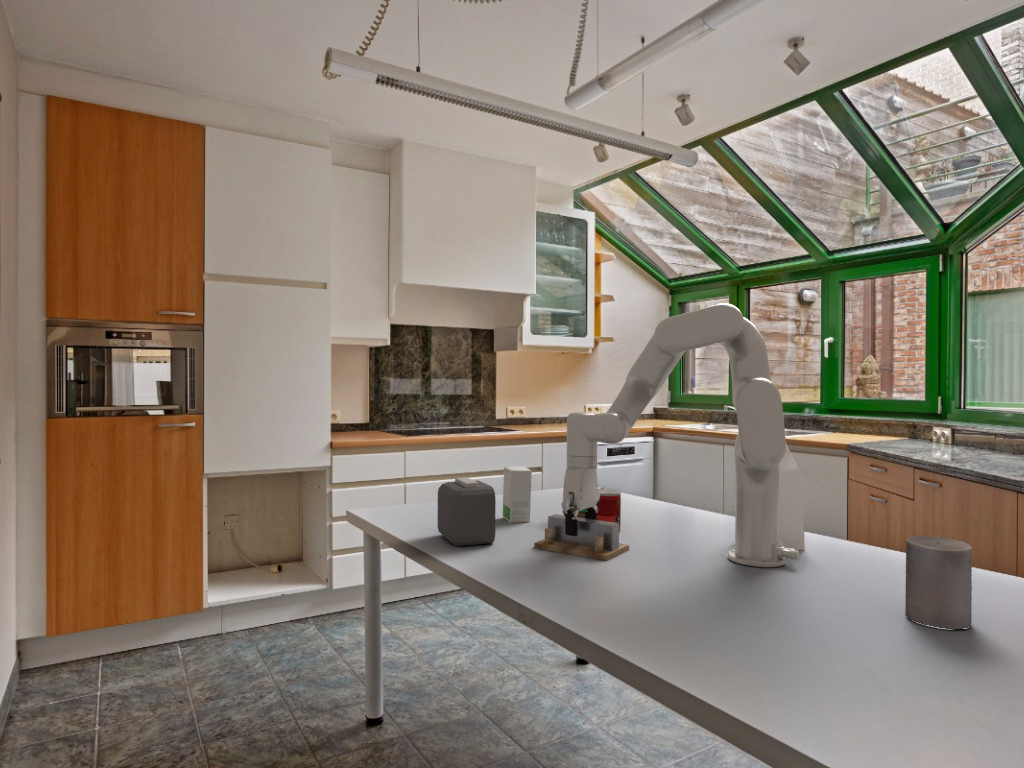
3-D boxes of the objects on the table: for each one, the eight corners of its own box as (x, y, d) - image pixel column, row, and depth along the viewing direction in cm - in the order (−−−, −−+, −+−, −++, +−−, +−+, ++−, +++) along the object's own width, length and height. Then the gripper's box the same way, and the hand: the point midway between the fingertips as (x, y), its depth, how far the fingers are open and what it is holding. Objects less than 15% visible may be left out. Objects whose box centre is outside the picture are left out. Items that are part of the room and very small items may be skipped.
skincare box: (502, 517, 197) (502, 466, 197) (522, 516, 199) (523, 465, 199) (510, 523, 189) (510, 469, 189) (531, 522, 191) (532, 469, 191)
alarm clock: (495, 545, 164) (495, 483, 164) (451, 549, 160) (452, 486, 160) (474, 531, 179) (475, 474, 179) (434, 534, 175) (434, 476, 175)
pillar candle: (910, 607, 120) (909, 526, 120) (974, 619, 114) (974, 533, 114) (900, 622, 113) (900, 536, 112) (969, 636, 106) (969, 545, 106)
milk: (789, 539, 172) (790, 440, 172) (804, 550, 161) (805, 445, 161) (743, 537, 173) (743, 440, 173) (754, 548, 162) (755, 444, 162)
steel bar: (547, 540, 164) (548, 516, 164) (555, 537, 167) (555, 514, 167) (612, 551, 154) (612, 525, 154) (618, 548, 157) (619, 523, 157)
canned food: (622, 534, 176) (622, 493, 176) (592, 534, 177) (593, 493, 177) (618, 528, 184) (618, 489, 184) (590, 527, 184) (590, 488, 184)
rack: (629, 549, 160) (629, 530, 160) (606, 560, 150) (606, 540, 150) (559, 538, 172) (559, 520, 172) (534, 547, 162) (534, 528, 162)
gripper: (585, 458, 170) (585, 523, 170) (550, 464, 156) (549, 536, 156) (611, 460, 166) (611, 527, 166) (577, 467, 152) (577, 540, 152)
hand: (581, 531), depth 161 cm, fingers open, 9 cm apart
